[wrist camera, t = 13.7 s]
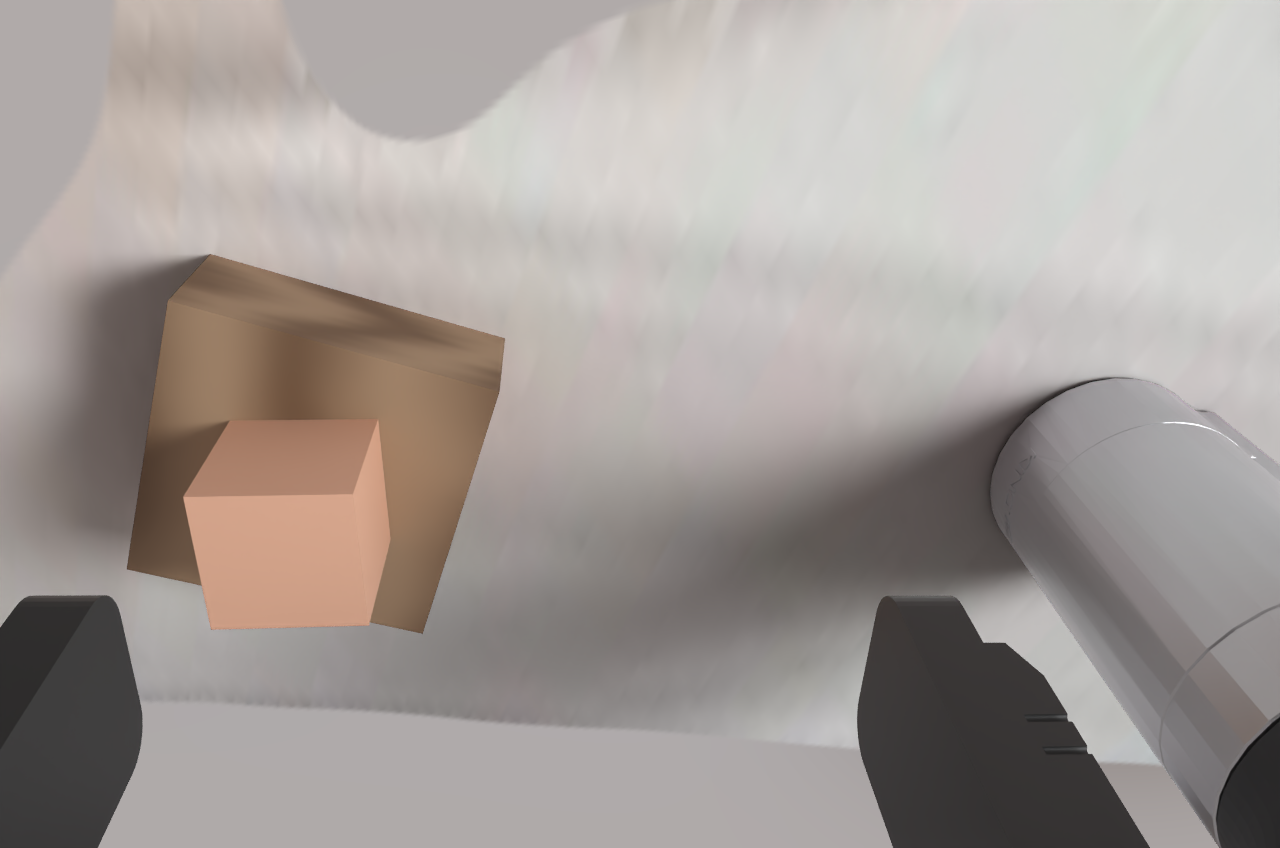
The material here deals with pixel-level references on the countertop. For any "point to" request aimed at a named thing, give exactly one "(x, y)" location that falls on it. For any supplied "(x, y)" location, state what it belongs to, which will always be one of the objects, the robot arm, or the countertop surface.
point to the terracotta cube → (291, 523)
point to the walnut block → (318, 410)
